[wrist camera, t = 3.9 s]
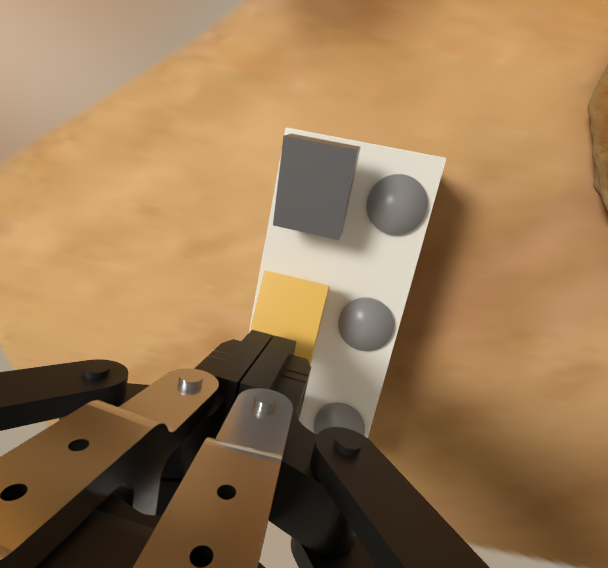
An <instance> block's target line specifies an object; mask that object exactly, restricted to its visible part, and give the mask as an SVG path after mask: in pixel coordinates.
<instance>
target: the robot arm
mask: <svg viewBox="0 0 608 568" xmlns="http://www.w3.org/2000/svg"><path fill="white" fill-rule="evenodd" d="M295 347H296V341H295V340H291V339H287V338H283V337H279V336H276V335H275V336H274V335H271V334H268V333H264V332H260V331H256V330H251V332H250V333H249V334H248V335H247V336H246V337H245V338H244V339H243V340H242V341H238V340H234V339H233V340H230V341H227V342H224V343H221V344H220V345H219V346H218V347H217V348H216V349H215V350H214V351H213V352H212V353H210V354H209V356H207V357H206V358H205V359H204V360H203V361H202V362H201V363H200V364H199V365H198V366H196V367H195V368H194V369H178V370H174V371H171V372H169V373H167V374H165V375H164V376H163V377H161V378H160V379H158V380H157V381H155V382H154V383H152V384H151V385H142V384H130V383H127V380H128V370H127V368H126V367H125V366H124V365H122V364H120V363H118V362H115V361H110V360H86V361H79V362H72V363H64V364H57V365H50V366H42V367H35V368H28V369H21V370H13V371H6V372H0V431H2V430H7V429H11V428H15V427H20V426H24V425H29V424H33V423H38V422H43V421H47V420H52V419H56V418H59V421H58V422H56V423H54V424H53V425H51V426H50V427H48V428H46V429H45V430H43V431H42V432H40V433H38V434H37V435H35V436H33V437H32V438H30V439H28V440H27V441H25V442H24V443H22V444H20V445H19V446H17V447H15V448H14V449H12V450H11V451H9V452H7V453H6V454H4V455H2V456H1V457H0V568H265V567H264V566H263V565H262V564H261V563H259V559H260V556H261V551H262V546H263V542H264V538H265V533H266V529H267V524H268V520H269V521H270V522H271V523H273V524H274V525H276V526H277V527H279V528H280V529H281V530H283V531H284V532H286V533H287V534H289V535H290V536H292V538H291V550H292V553H293V556H294V558H295V561H296V563H297V565H298V567H299V568H489V567H488V565H487V564H486V563H485V562H484V561H483V560H482V559H481V558H480V557H479V556H478V555H477V554H476V553H475V552H474V551H473V549H472V548H471V547H470V546H469V545H468V544H467V543H466V542H465V541H464V540H463V539H462V538H461V537H460V536H459V535H458V534H457V532H456V531H455V530H454V529H453V528H452V527H451V526H450V525H449V524H448V523H447V522H446V521H445V520H444V519H443V518H442V517H441V515H440V514H439V513H438V512H437V511H436V510H435V509H434V508H433V507H432V506H431V505H430V504H429V503H428V502H427V501H426V499H425V498H424V497H423V496H422V495H421V494H420V493H419V492H418V491H417V490H416V489H415V488H414V487H413V486H412V485H411V484H410V482H409V481H408V480H407V479H406V478H405V477H404V476H403V475H402V474H401V473H400V472H399V471H398V470H397V469H396V468H395V467H394V465H393V464H392V463H391V462H390V461H389V460H388V459H387V458H386V457H385V456H384V455H383V454H382V453H381V452H380V451H379V450H378V448H377V447H376V446H375V445H374V444H373V443H372V442H371V441H370V440H369V439H368V438H366V437H365V436H363V435H362V434H360V433H358V432H356V431H354V430H351V429H347V428H343V427H329V428H325V429H323V430H321V431H320V432H319V433H318V434H315V433H313V432H312V431H310V430H308V429H307V428H306V427H305V426H304V425H303V424H302V423H301V422H300V421H299V419H298V418H299V416H300V413H301V410H302V406H303V401H304V397H305V392H306V388H307V384H308V379H309V375H310V371H311V366H310V363H309V361H308V359H306V358H302V357H298V356H295V355H294V352H295Z"/></svg>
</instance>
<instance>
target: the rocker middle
mask: <svg viewBox="0 0 608 568" xmlns="http://www.w3.org/2000/svg"><path fill="white" fill-rule="evenodd" d="M329 289H330V286H328V285H324V284H320V283H316V282H312V281H308V280H303V279H299V278H295V277H291V276H287V275H283V274H278V273H274V272H270V271H266V270H264V274H263V278H262V282H261V286H260V291H259V295H258V299H257V303H256V307H255V311H254V315H253V319H252V323H251V328H250V332H251V330H256V331H260V332H264V333H268V334H271V335H274V336H275V335H276V336H279V337H283V338H287V339H291V340H295V341H296V347H295V352H294V355H295V356H298V357H302V358H306V359H308V361H309V363H310V365H311V363H312V359H313V355H314V351H315V346H316V342H317V338H318V334H319V330H320V326H321V322H322V317H323V313H324V309H325V305H326V301H327V297H328V293H329ZM250 332H249V333H250Z"/></svg>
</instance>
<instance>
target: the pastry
mask: <svg viewBox="0 0 608 568" xmlns="http://www.w3.org/2000/svg"><path fill="white" fill-rule="evenodd" d="M588 113H589V118H590V121H591V128H590V131H591V134H592V137H593V148H592V154H593V159H594V162H595V170H594V187H595V188H596V190H597V191H598V192H599V193H600V194H601V196H602V199H603V202H604V204H605V207H606V209H607V211H608V65H607V67H606V69H605V71H604V73H603V75H602V77H601V79H600V81H599V83H598V85H597V87H596V89H595V91H594V93H593V95H592V98H591V100H590V102H589V104H588Z"/></svg>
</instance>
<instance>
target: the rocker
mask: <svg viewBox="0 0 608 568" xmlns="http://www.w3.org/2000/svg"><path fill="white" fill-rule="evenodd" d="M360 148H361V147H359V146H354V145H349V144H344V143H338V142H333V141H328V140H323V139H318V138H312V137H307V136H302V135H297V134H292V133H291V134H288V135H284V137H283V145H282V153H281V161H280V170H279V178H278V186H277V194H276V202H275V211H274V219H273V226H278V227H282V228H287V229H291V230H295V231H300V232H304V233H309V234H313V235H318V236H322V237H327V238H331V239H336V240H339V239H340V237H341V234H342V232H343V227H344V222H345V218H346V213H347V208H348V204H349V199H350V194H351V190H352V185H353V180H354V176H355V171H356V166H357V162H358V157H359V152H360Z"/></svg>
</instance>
